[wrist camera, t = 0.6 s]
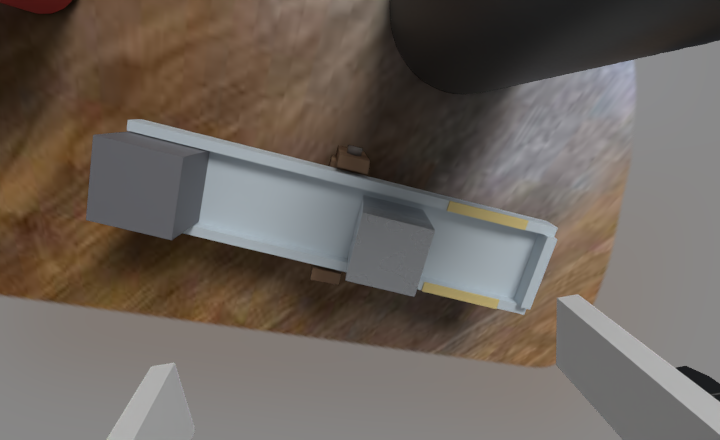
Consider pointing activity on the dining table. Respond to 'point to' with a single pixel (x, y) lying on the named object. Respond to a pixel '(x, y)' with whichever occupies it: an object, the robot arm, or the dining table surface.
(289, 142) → the dining table surface
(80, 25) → the dining table surface
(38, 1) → the beer can
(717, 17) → the vase
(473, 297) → the beam
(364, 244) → the block
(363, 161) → the fulcrum
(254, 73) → the dining table surface
